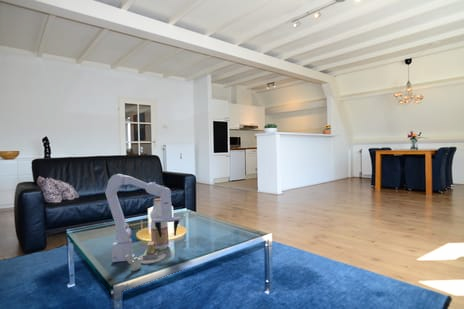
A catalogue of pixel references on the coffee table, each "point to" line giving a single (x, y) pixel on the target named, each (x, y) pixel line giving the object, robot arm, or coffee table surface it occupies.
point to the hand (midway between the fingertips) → (167, 235)
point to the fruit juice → (163, 240)
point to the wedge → (151, 248)
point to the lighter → (134, 262)
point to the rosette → (152, 257)
